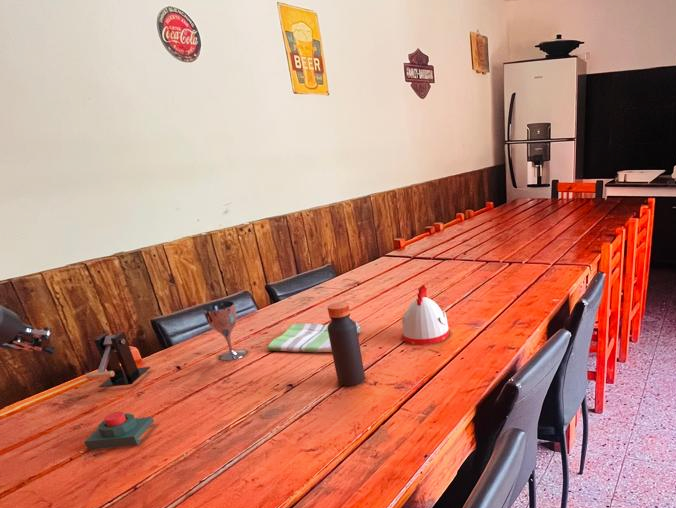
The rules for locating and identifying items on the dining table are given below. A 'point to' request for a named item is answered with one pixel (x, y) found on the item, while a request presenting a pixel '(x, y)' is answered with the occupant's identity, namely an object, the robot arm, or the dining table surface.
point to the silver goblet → (223, 324)
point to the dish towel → (304, 339)
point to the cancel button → (115, 419)
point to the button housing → (119, 433)
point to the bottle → (345, 345)
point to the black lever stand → (126, 360)
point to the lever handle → (104, 361)
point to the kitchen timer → (424, 321)
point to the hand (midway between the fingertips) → (50, 352)
